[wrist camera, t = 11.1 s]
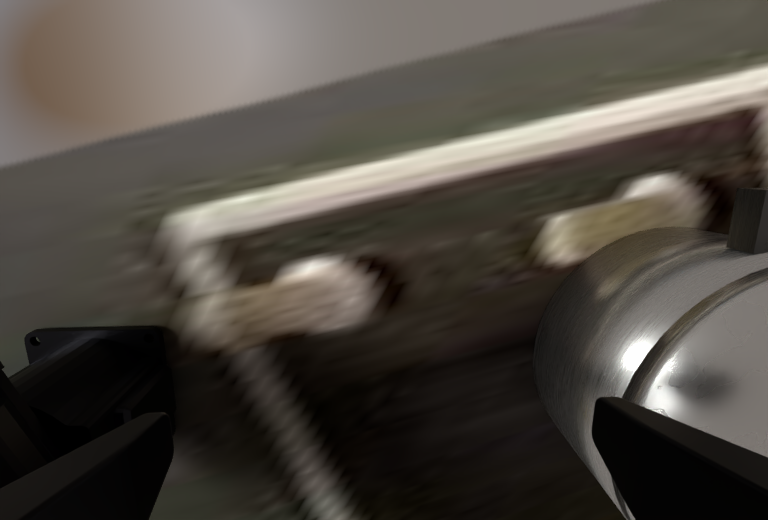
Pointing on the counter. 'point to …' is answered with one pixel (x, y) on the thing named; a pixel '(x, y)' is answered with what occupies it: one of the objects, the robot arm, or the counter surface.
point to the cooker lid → (712, 368)
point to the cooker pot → (633, 313)
